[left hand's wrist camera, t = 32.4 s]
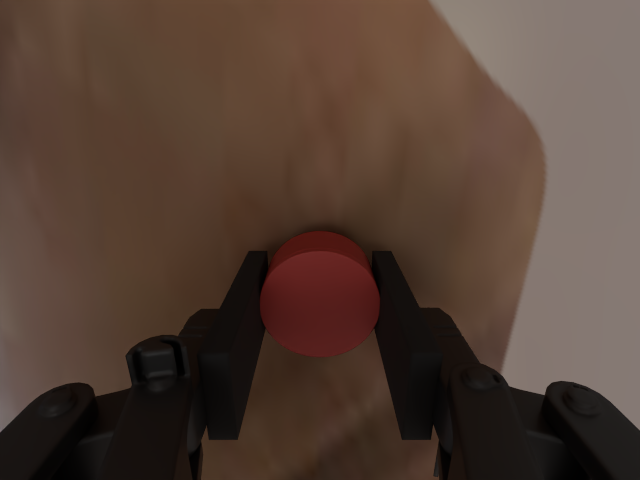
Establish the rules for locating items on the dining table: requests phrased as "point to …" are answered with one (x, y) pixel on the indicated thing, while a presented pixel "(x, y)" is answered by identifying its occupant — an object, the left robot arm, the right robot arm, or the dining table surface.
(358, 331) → the cap
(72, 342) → the dining table surface
